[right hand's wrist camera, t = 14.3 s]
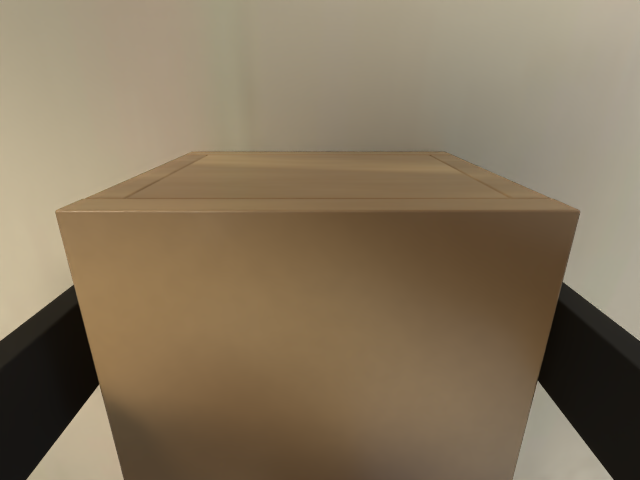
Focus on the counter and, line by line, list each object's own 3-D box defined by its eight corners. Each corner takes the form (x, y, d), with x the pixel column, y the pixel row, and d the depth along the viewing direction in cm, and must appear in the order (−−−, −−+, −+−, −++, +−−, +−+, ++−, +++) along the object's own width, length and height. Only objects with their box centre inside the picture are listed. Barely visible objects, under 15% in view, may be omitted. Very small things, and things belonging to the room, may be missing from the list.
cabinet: (410, 457, 22) (464, 670, 14) (227, 458, 22) (172, 671, 14) (446, 151, 16) (582, 210, 8) (190, 151, 16) (53, 210, 8)
